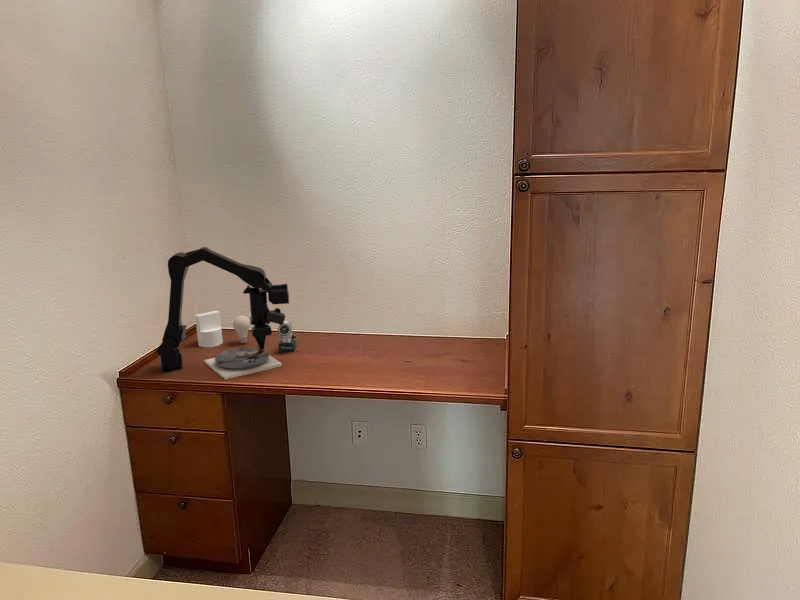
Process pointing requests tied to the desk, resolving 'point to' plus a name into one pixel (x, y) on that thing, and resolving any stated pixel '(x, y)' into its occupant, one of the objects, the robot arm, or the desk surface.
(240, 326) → the light bulb
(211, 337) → the base with upright slab
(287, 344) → the watch
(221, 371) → the wheel base
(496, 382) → the desk surface
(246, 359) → the handwheel
